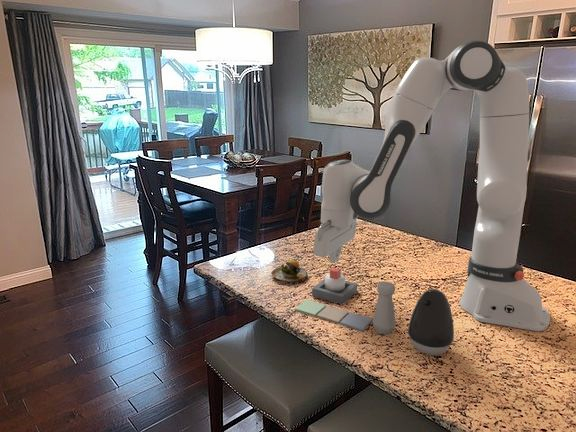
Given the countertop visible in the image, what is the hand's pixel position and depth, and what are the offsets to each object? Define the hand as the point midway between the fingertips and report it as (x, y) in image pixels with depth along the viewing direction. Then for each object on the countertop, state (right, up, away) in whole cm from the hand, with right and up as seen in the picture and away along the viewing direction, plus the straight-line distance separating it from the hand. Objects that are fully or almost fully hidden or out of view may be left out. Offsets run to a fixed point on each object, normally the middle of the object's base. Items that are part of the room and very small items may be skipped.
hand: (334, 261), depth 128 cm
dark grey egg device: (+20, -18, -25) cm, 37 cm away
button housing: (0, -10, +3) cm, 10 cm away
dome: (0, -8, +2) cm, 9 cm away
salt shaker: (+11, -16, -17) cm, 26 cm away
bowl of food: (-13, -7, +15) cm, 21 cm away
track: (-1, -14, -10) cm, 17 cm away
